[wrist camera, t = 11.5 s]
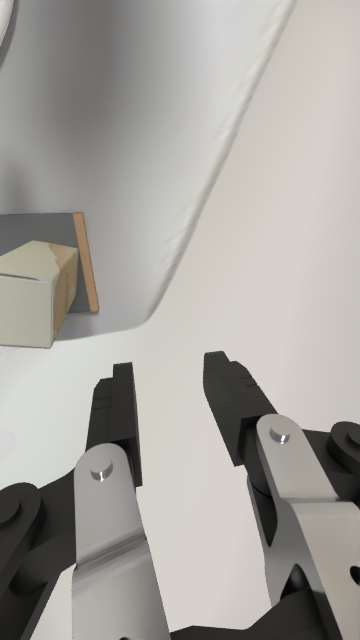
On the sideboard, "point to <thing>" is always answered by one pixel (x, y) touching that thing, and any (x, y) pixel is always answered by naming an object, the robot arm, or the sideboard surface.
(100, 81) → the sideboard surface
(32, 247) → the box
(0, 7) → the earphone
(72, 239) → the mat
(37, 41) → the sideboard surface
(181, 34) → the sideboard surface
